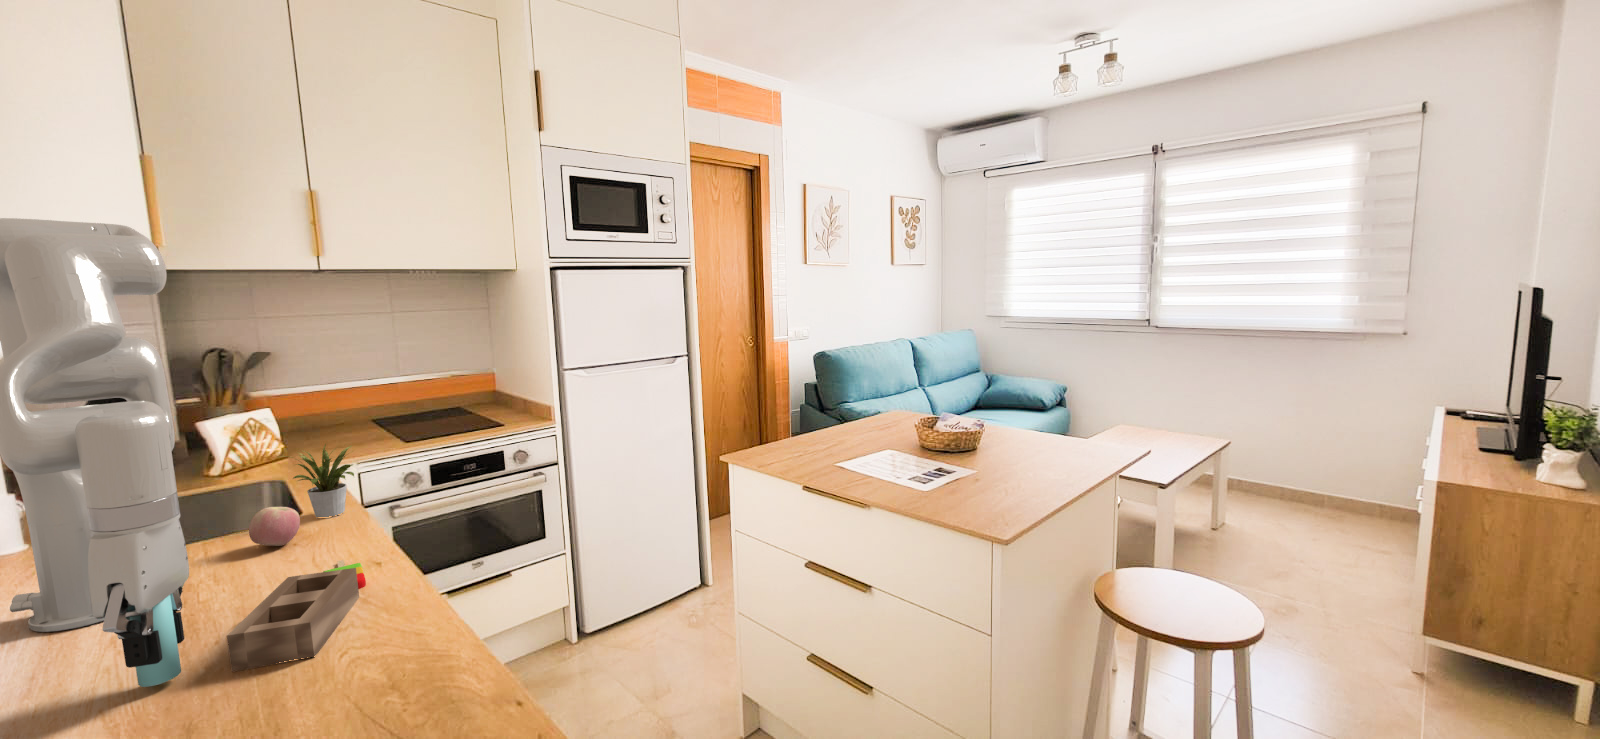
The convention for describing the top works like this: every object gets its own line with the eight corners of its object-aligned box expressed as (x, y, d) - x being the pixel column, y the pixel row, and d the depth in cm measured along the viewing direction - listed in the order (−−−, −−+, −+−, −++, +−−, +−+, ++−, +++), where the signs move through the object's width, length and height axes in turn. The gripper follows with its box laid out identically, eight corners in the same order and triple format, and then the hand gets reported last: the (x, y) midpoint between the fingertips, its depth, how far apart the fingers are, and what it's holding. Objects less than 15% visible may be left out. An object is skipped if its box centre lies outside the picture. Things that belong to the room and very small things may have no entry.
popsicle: (325, 600, 101) (324, 589, 101) (322, 570, 113) (320, 560, 113) (367, 589, 105) (365, 579, 105) (359, 561, 117) (358, 551, 116)
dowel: (130, 689, 76) (117, 604, 75) (150, 671, 80) (138, 589, 78) (170, 683, 78) (157, 599, 76) (188, 665, 81) (176, 585, 80)
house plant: (279, 533, 130) (269, 456, 128) (284, 515, 141) (275, 444, 139) (363, 517, 138) (355, 445, 136) (361, 501, 149) (354, 434, 148)
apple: (293, 551, 121) (288, 511, 120) (243, 557, 118) (238, 516, 117) (309, 536, 128) (304, 498, 127) (263, 542, 126) (258, 503, 125)
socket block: (231, 671, 81) (226, 635, 81) (292, 607, 98) (288, 577, 98) (314, 657, 84) (310, 622, 84) (359, 597, 101) (355, 567, 101)
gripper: (141, 494, 82) (160, 625, 85) (38, 543, 67) (65, 702, 69) (212, 488, 85) (229, 615, 87) (129, 534, 69) (152, 688, 72)
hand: (156, 652), depth 78 cm, fingers closed on dowel, 3 cm apart
